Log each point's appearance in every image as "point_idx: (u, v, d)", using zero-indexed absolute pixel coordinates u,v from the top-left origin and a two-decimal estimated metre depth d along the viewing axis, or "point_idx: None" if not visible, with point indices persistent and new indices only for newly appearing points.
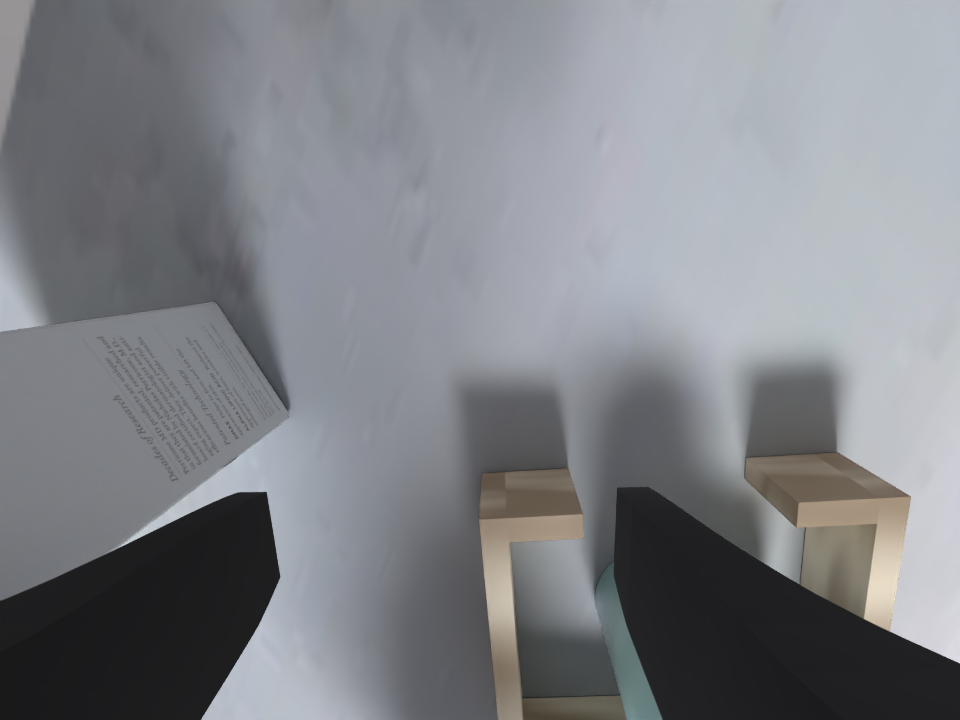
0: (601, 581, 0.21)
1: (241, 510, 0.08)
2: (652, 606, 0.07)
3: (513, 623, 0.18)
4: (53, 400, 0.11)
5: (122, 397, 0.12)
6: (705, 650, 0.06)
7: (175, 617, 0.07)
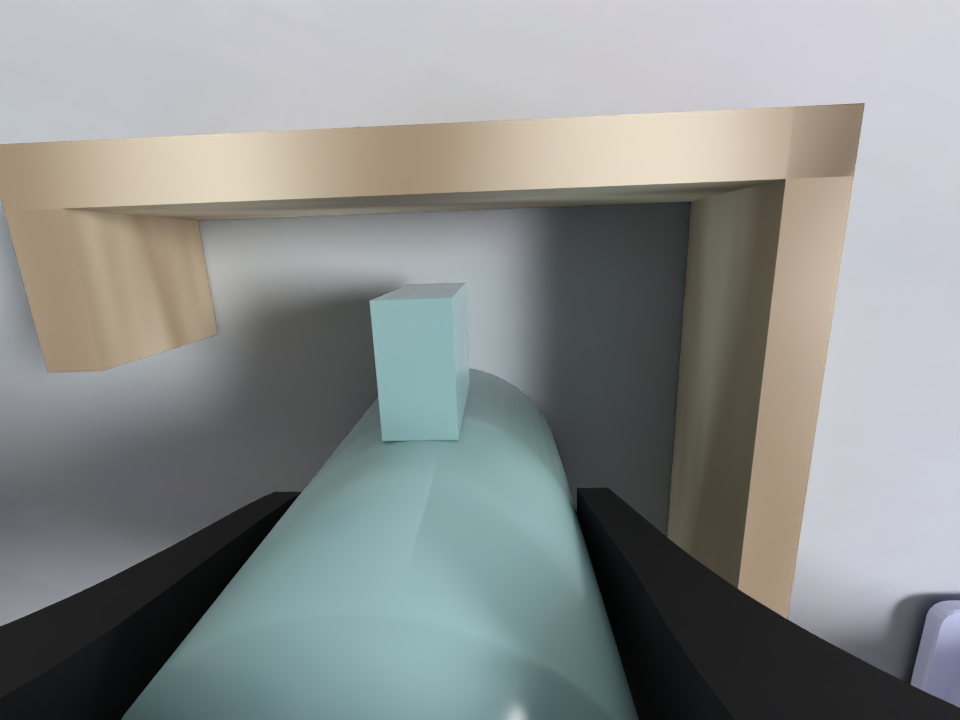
0: None
1: (282, 510, 0.08)
2: None
3: None
4: None
5: None
6: (641, 650, 0.06)
7: None
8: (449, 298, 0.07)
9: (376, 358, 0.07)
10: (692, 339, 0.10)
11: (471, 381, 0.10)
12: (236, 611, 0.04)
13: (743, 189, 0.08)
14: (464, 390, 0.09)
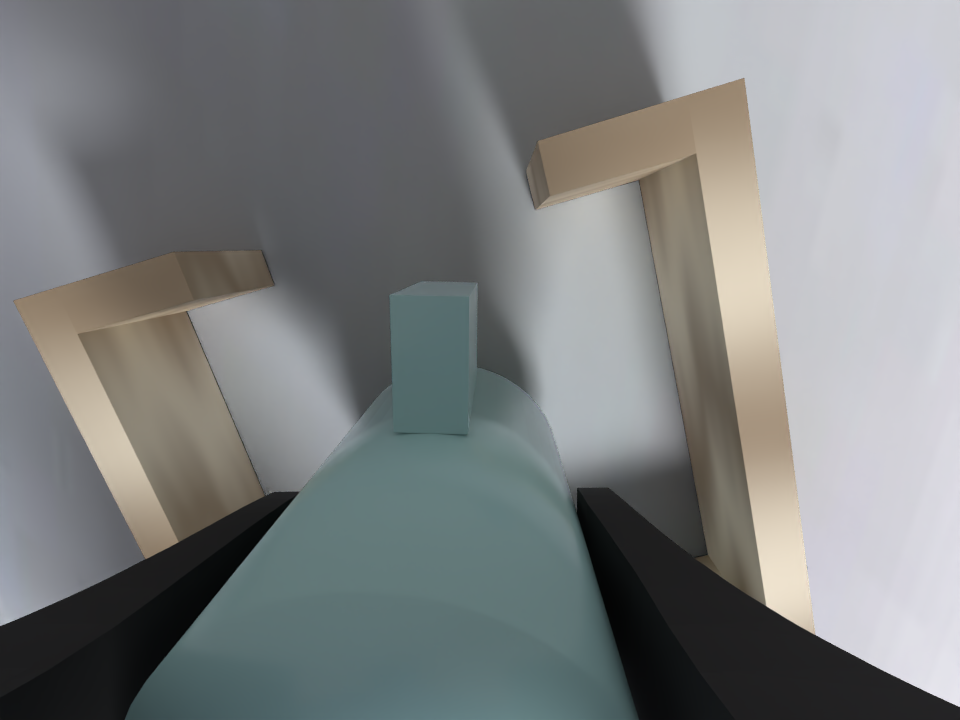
0: None
1: (282, 510, 0.08)
2: None
3: (149, 483, 0.11)
4: None
5: None
6: (641, 650, 0.06)
7: None
8: (467, 296, 0.07)
9: (392, 350, 0.07)
10: None
11: (477, 379, 0.11)
12: (257, 586, 0.04)
13: None
14: (473, 387, 0.09)
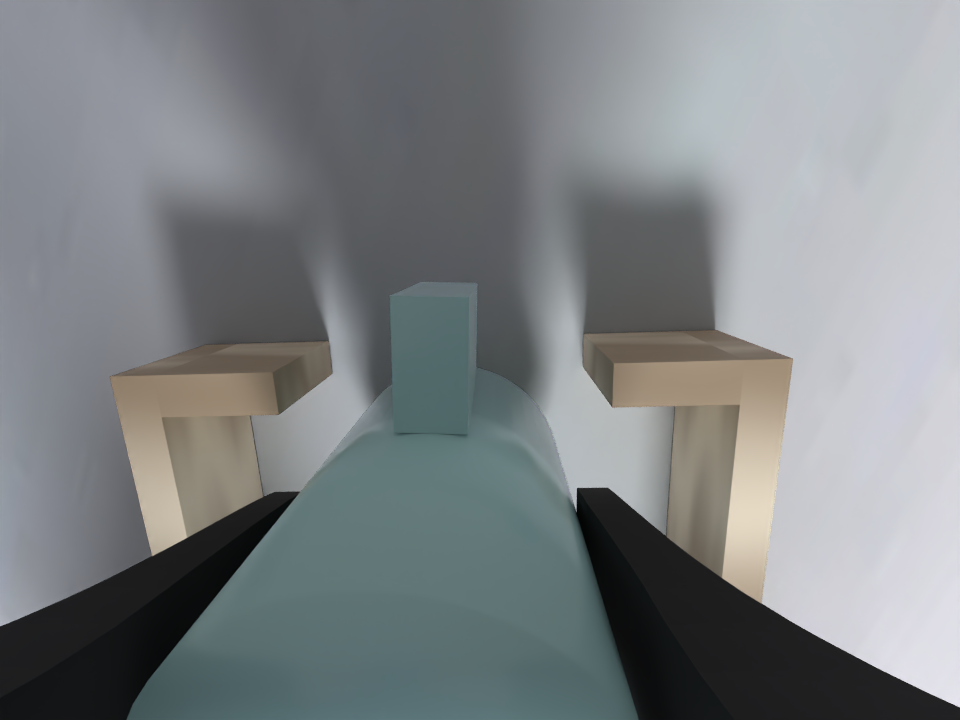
0: None
1: (282, 510, 0.08)
2: None
3: None
4: None
5: None
6: (640, 650, 0.06)
7: None
8: (466, 297, 0.07)
9: (392, 352, 0.07)
10: None
11: (477, 379, 0.11)
12: (260, 587, 0.04)
13: None
14: (472, 387, 0.09)
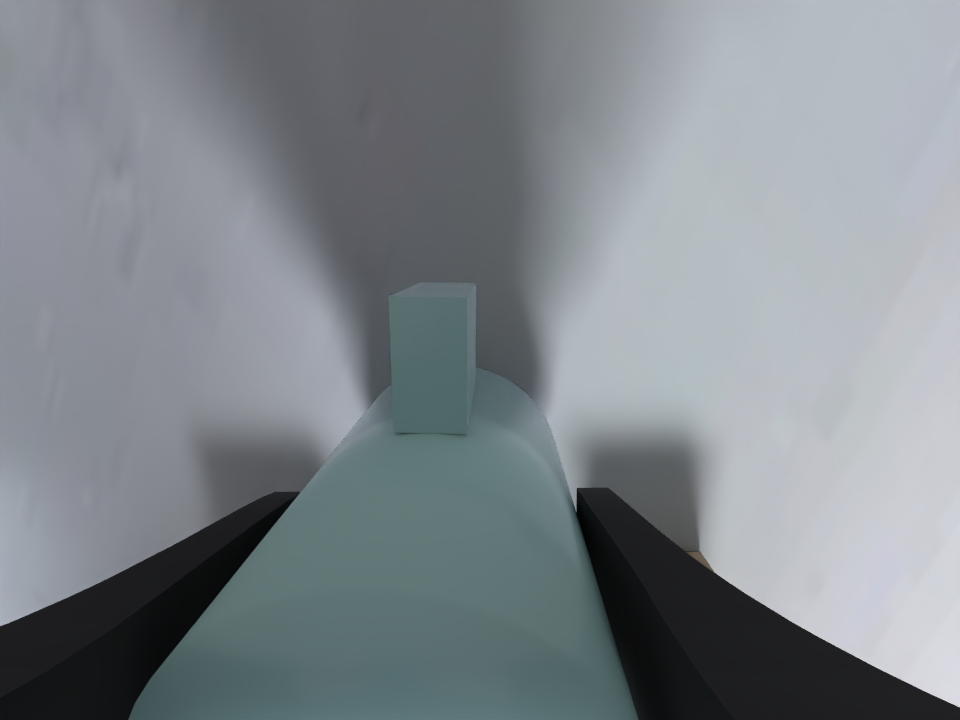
0: None
1: (282, 510, 0.08)
2: None
3: None
4: None
5: None
6: (641, 650, 0.06)
7: None
8: (465, 297, 0.07)
9: (391, 352, 0.07)
10: None
11: (476, 379, 0.11)
12: (260, 585, 0.04)
13: None
14: (472, 387, 0.09)
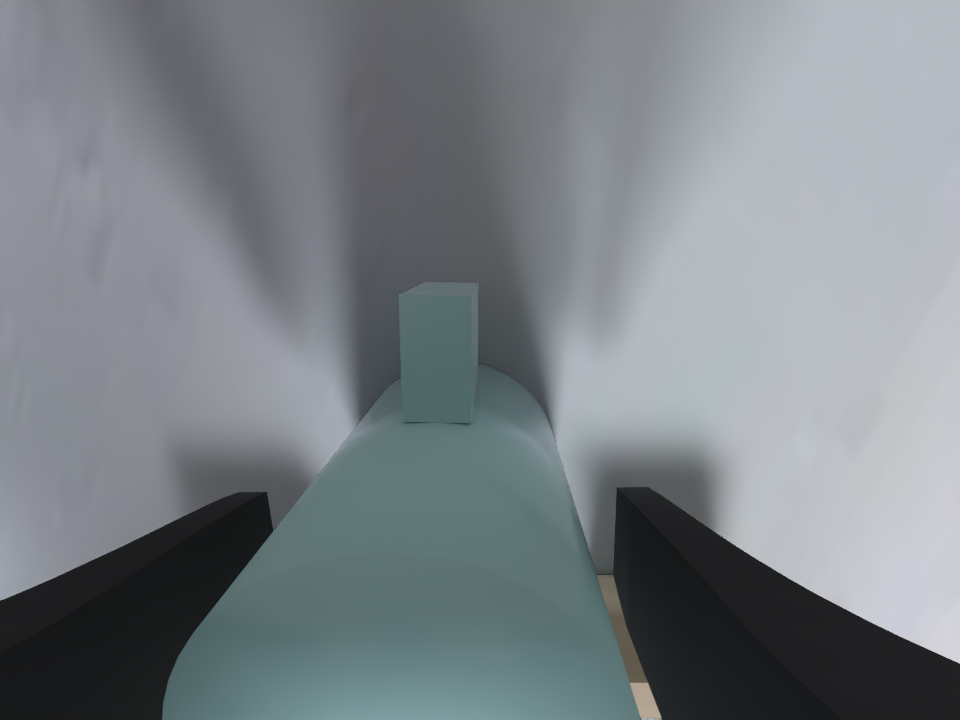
0: None
1: (241, 510, 0.08)
2: (651, 606, 0.07)
3: None
4: None
5: None
6: (705, 650, 0.06)
7: (175, 617, 0.07)
8: (469, 296, 0.07)
9: (401, 346, 0.08)
10: None
11: (478, 374, 0.11)
12: (289, 551, 0.05)
13: None
14: (475, 381, 0.09)
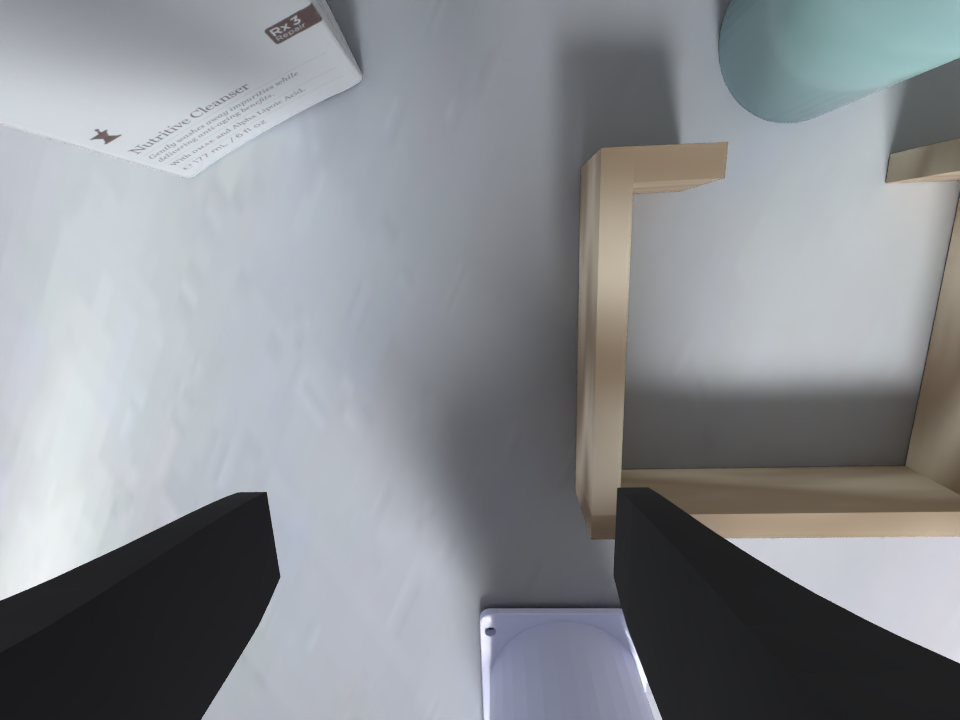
0: (758, 112, 0.16)
1: (241, 510, 0.08)
2: (652, 607, 0.07)
3: (626, 299, 0.15)
4: None
5: None
6: (705, 650, 0.06)
7: (175, 617, 0.07)
8: None
9: None
10: (841, 473, 0.19)
11: None
12: None
13: (957, 493, 0.17)
14: None
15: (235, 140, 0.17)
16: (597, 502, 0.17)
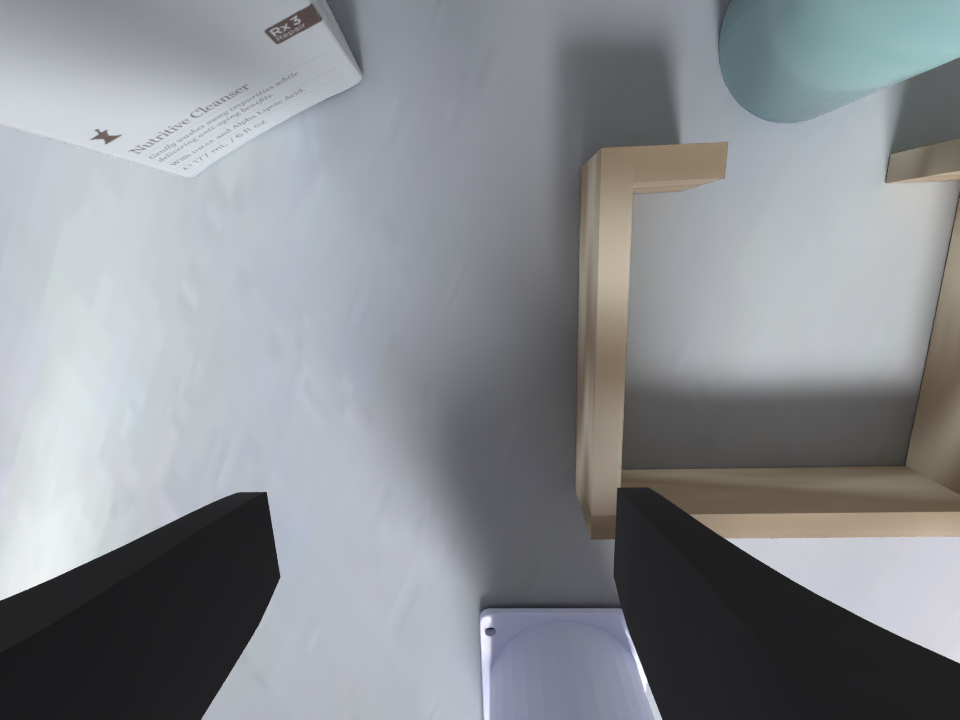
0: (758, 112, 0.16)
1: (241, 510, 0.08)
2: (652, 607, 0.07)
3: (626, 299, 0.15)
4: None
5: None
6: (705, 650, 0.06)
7: (175, 617, 0.07)
8: None
9: None
10: (841, 473, 0.19)
11: None
12: None
13: (957, 493, 0.17)
14: None
15: (234, 140, 0.17)
16: (597, 502, 0.17)
